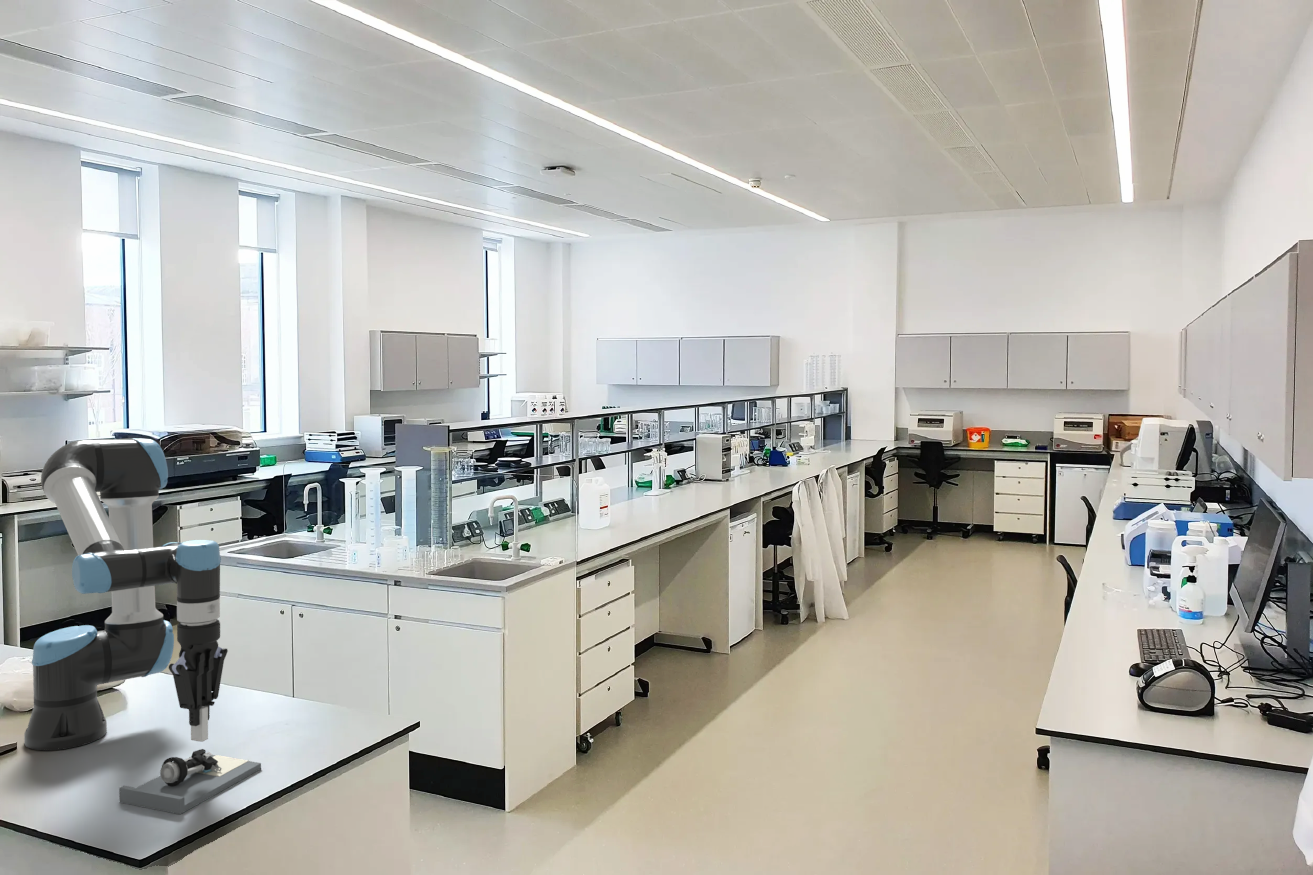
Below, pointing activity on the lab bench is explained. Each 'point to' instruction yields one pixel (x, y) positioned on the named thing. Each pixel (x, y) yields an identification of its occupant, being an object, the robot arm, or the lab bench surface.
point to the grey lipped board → (188, 787)
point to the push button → (187, 767)
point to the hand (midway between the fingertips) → (199, 739)
